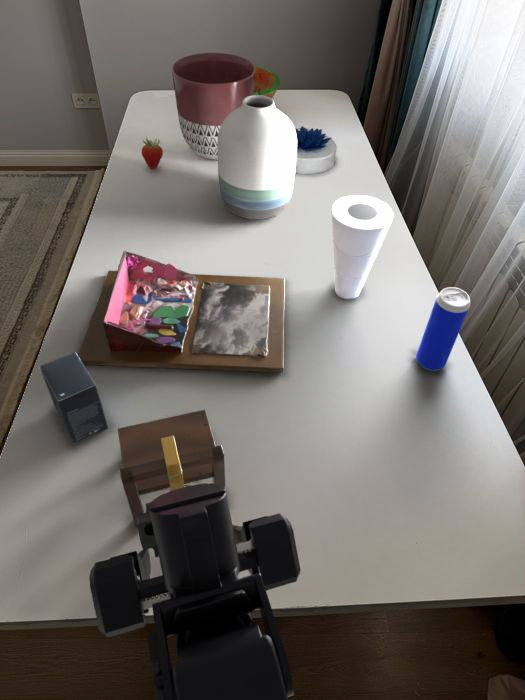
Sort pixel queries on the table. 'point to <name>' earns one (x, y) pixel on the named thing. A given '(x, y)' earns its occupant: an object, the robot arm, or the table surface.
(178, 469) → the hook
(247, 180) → the vase
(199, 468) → the brown legged wooden frame
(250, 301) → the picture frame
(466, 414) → the table surface
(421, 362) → the beverage can
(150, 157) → the fruit
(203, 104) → the planter
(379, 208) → the stacked toilet paper rolls
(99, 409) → the box
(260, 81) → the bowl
